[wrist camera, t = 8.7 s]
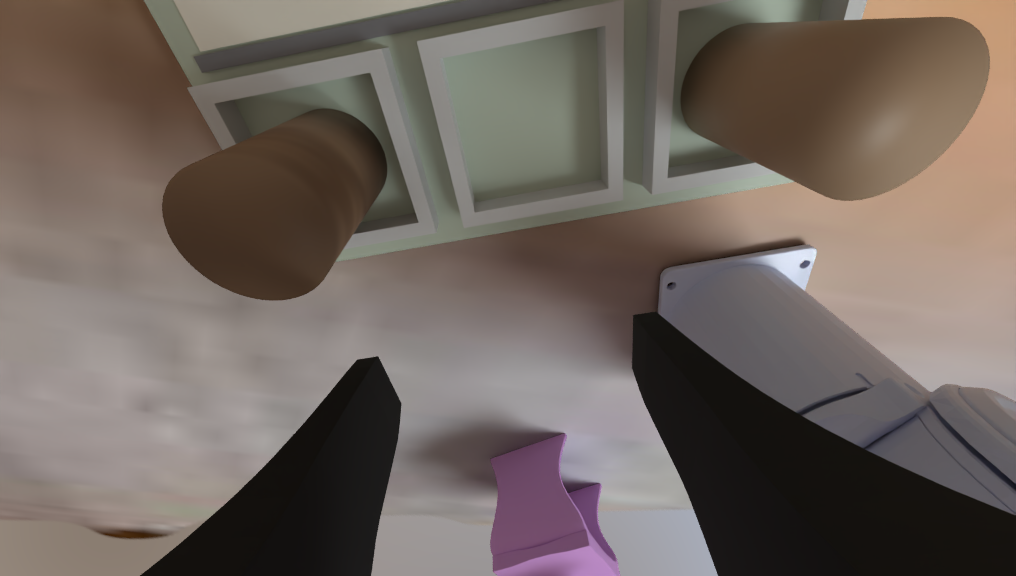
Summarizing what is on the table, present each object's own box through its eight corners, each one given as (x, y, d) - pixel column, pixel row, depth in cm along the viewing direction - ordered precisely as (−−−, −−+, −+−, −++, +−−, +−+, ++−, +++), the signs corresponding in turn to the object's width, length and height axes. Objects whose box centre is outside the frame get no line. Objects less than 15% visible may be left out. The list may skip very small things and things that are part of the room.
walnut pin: (400, 198, 17) (356, 286, 11) (313, 215, 17) (224, 311, 11) (364, 98, 14) (285, 142, 9) (265, 120, 15) (122, 177, 9)
